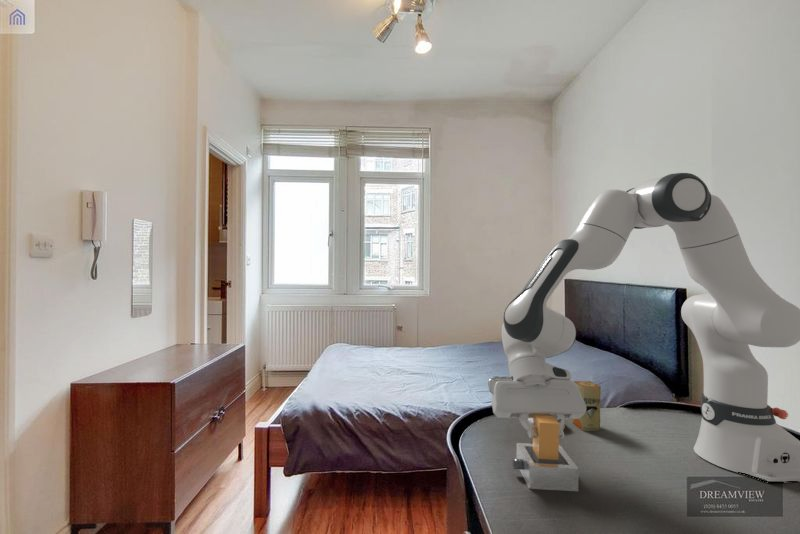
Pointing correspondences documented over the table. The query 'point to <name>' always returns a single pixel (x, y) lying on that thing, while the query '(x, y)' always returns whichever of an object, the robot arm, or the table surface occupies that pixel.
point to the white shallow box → (546, 470)
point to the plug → (546, 439)
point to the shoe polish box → (589, 406)
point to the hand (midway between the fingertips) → (547, 437)
